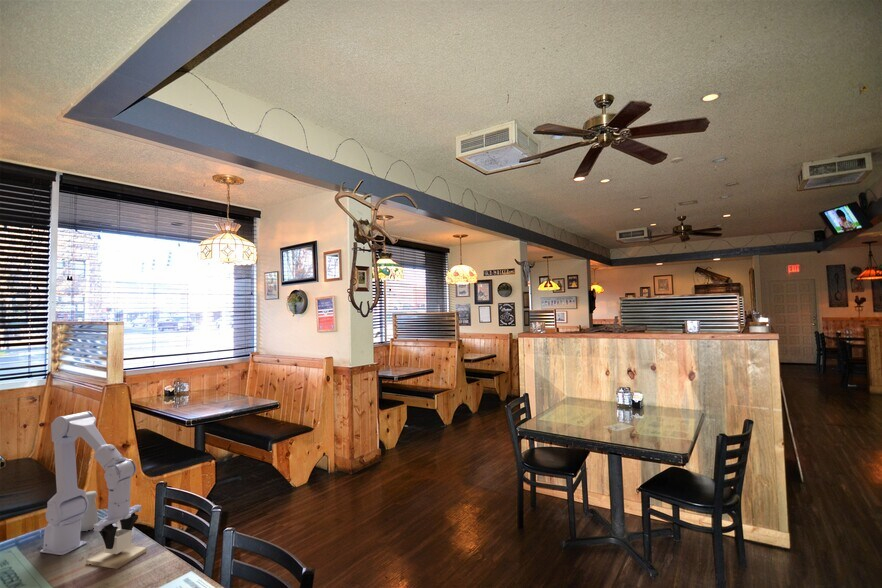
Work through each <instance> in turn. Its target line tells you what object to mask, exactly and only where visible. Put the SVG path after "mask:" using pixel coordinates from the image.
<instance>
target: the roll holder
mask: <svg viewBox="0 0 882 588" xmlns="http://www.w3.org/2000/svg"><path fill="white" fill-rule="evenodd" d="M117 537H118V536H117ZM147 549H148V548H147V547H144V546H138V545H137V546H136V545H131V547H129V548H127V549H125V550H123V551H122V552H120V553H118V554H110V553H104V550H102V551H101V552H99V553H97V554H95V555H93V556H91V557H89V558H87V559H86V560H85V564H86V565H89V564H91V566H96V567H97V566H98V567H104V568H109V569H110V568H111V569H116V570H117V569H120V568H121V567H123V566H125V565H127V564H128V563H130V562H131V561H133V560H134V559H136V558H138V557H140V556H141V555H143V554H145V553H147Z"/></svg>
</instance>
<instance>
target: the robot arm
mask: <svg viewBox="0 0 882 588" xmlns="http://www.w3.org/2000/svg"><path fill="white" fill-rule="evenodd" d="M96 425H97V418H96V417H95V416H94V414H93V413H92V411H90V410H85V411H83V412H78V413H77V412H76V413H72V414H68V415H60V416H57V417H56V418H55V419H54V420H53V421H52V422H51V424H50V429H51V430H50V431H51V432H50V433H51V442H52V443H53V445H54V446H53V449H54V466H55V467H54V468H55V483H56V485H55V486H56V493H55V494H54V495H53V496H52V497H51V498H50V499H49V500H48V501H47V502H46V503H47V508H46V511H45V520H46V522H47V524H46V526H45V529H44V531H43V547H42V549H41V550H40V551H39V552H40V553H45V554H50V555H59V556H64V555H66V554H68V553H70V552H73V551H74V550H76V549H78V548H80V547H83V546H84V545H86V544H87V543H88V541H87V540H85V541H84V540H81V532H82V531H81V517H83V516H84V513H85V512H86V511H87V509H88V505H89V502H88V499H87V497H86V492H87V491H85V490H83V489H81V488H80V487H78V474H77V459H76V456H77V455H76V440H77V439H79V437H80V438H81V439H83V440H84V441H85V442H86V444H87V445H89V447H91V449H92V450H93V451H95V453H94V456H93V458H94V459H95V460H96V461H97V463H98V464H99V465H100V466H101V467H102V469H103V470H104V471H105V473H103V477H104V480H105V483H106V488H107V489H108V493H107V494H108V495H107V496H108V499H107V500H108V501H107V516H105V517H104V518H102V519H101V520H100V521H98V523H96V524H94V529H93V532H98V533H99V534H100V535H101V537H102V540H103V544H104V543H105V546H106V549H112V548H113V545H114V538H115V534H116V531H117V529H119V527H118V526H114V525H113V524H115V523H117V522H120V527H121V528H120V529H126V530H132V531H133V528H134V526H135V524H136V522H137V521H138V519H139V514H136V513H140V512H142V505H141V504H135V505H133V506H131V490H132V489H131V486H132V477H134V475H135V474H136V471H137V466H136V464H135V462H134V460H133V459H131V458H127V457H124V456H123V455H122V453H120V451H119V450H118V449H117V448H116V446H115V445H114V444H111V443H109V444H108V443H107V442H106V440H105V439H104V437H103V435H102V434H101V432H100V430H99V429H98V428H97V426H96Z"/></svg>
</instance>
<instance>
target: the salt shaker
mask: <svg viewBox="0 0 882 588" xmlns="http://www.w3.org/2000/svg"><path fill="white" fill-rule="evenodd" d="M85 492H86V497H87V499H88V502H89V505H88V509H87V511H86V512H85V513H84V516H83V517H81V532H82V531H86V532H89V531H88V530H90V531H92V530H94V529H93V528H94V524H96V523H98V522H99V515H98V510H97V503H96V498H97V497H98V492H97V491H96V490H90V491H85Z"/></svg>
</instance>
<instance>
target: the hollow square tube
mask: <svg viewBox="0 0 882 588" xmlns="http://www.w3.org/2000/svg"><path fill="white" fill-rule="evenodd" d="M132 532H133V529H132V530H126V529H121V528H117V531H116V534H115V538H114V545H113V548H112V549H106V546H105V543H104V542H103V551H104V553H110V554H118V553H120V552H122V551H123V550H125V549H127V548H129V547H131V546H132V539H133V538H132V536H133V535H132V534H133V533H132ZM117 536H118V537H117Z"/></svg>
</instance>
